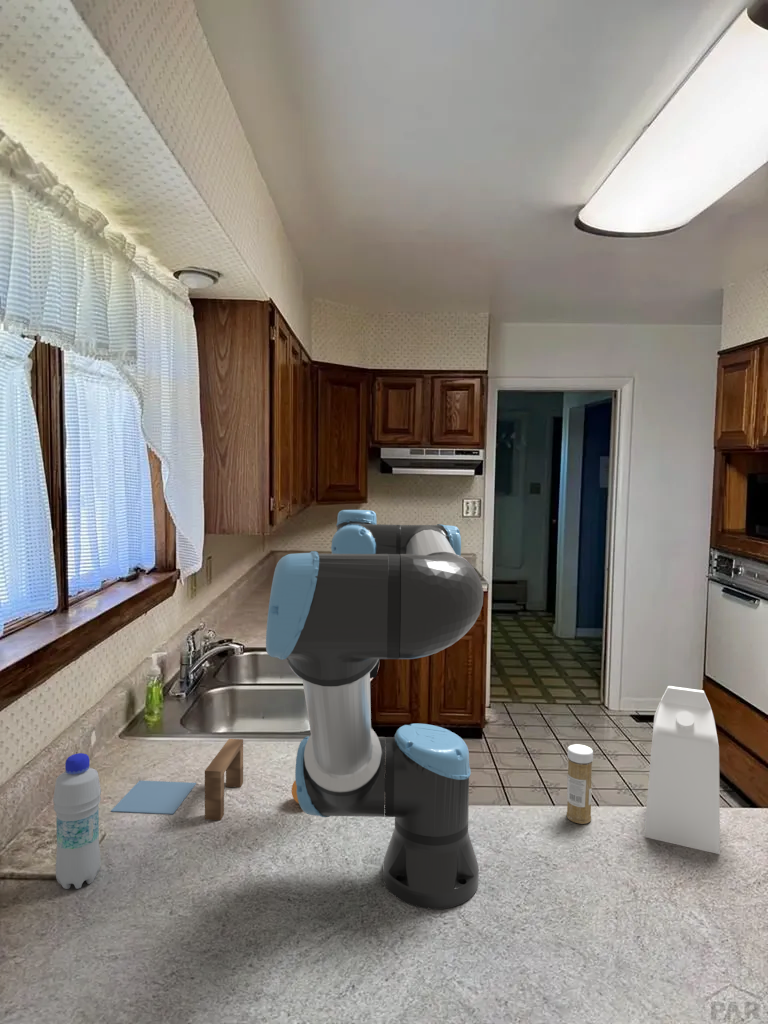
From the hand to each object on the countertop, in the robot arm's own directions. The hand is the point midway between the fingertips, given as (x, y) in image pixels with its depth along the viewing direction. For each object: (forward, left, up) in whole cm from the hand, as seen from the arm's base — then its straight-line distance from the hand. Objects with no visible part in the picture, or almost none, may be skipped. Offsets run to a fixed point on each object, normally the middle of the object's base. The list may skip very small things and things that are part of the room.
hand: (355, 712), depth 121 cm
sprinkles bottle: (-1, -42, -19) cm, 46 cm away
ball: (0, +10, -16) cm, 18 cm away
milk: (-3, -60, -19) cm, 63 cm away
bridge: (0, +26, -18) cm, 31 cm away
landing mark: (0, +40, -18) cm, 44 cm away
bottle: (-26, +41, -19) cm, 52 cm away
